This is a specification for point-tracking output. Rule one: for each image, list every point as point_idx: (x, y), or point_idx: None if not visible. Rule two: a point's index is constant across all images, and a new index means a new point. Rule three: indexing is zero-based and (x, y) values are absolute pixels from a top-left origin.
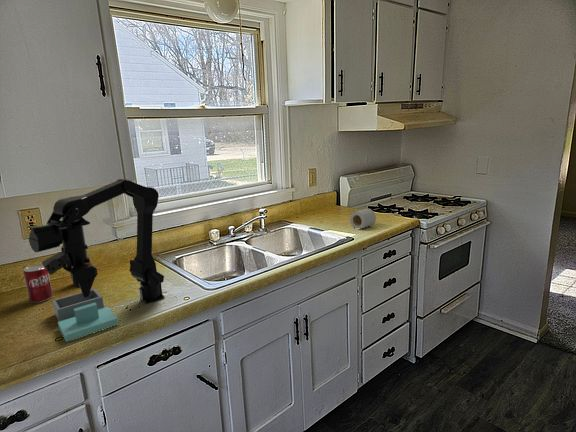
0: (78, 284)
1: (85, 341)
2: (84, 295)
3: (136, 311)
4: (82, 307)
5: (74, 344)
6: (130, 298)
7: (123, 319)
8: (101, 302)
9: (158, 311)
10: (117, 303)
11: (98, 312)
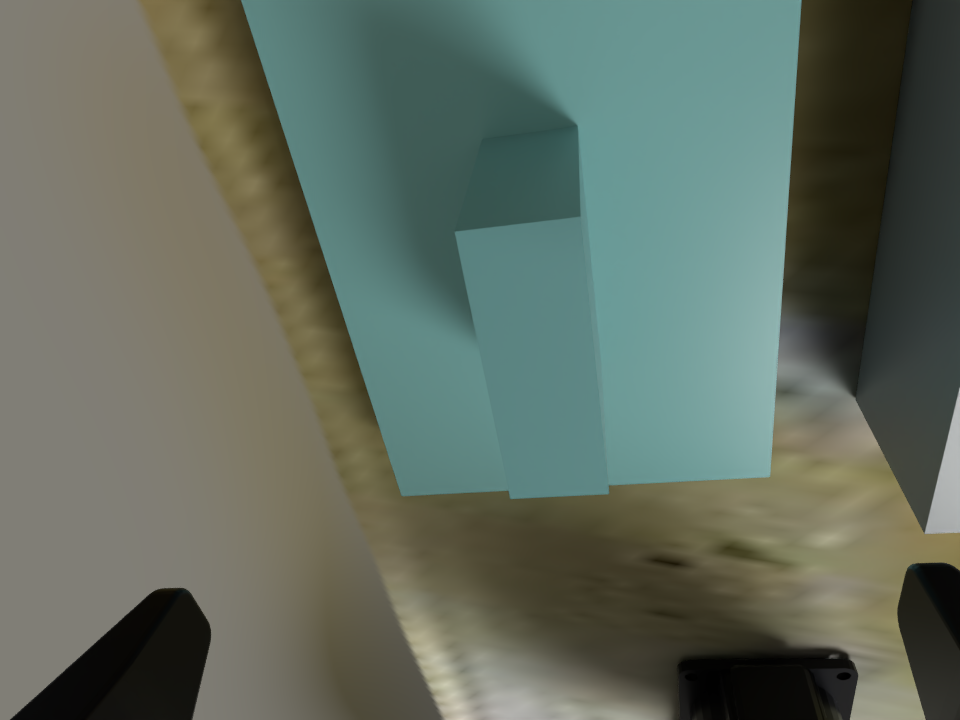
0: (936, 676)
1: (214, 155)
2: (111, 642)
3: (593, 583)
4: (536, 340)
5: (189, 38)
6: None
7: None
8: (898, 462)
9: (480, 670)
10: None
11: (682, 383)
